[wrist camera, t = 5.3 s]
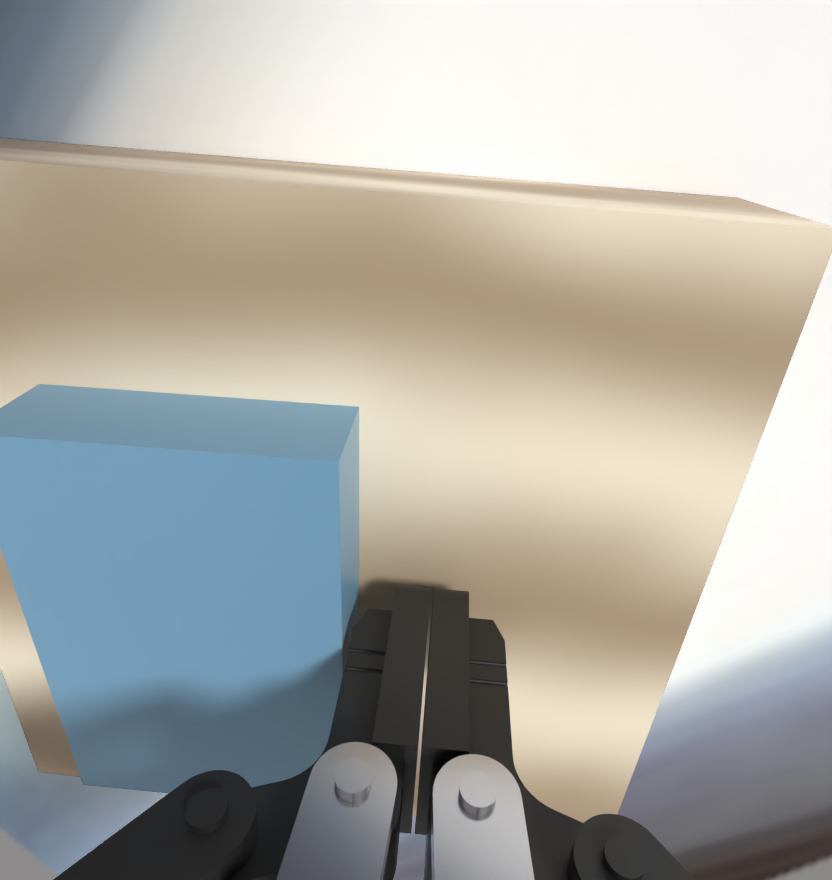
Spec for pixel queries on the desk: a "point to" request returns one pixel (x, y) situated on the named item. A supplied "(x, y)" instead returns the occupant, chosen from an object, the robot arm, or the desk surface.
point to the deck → (440, 390)
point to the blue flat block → (184, 575)
